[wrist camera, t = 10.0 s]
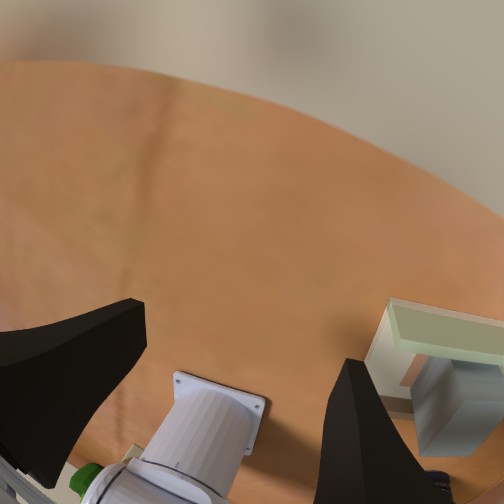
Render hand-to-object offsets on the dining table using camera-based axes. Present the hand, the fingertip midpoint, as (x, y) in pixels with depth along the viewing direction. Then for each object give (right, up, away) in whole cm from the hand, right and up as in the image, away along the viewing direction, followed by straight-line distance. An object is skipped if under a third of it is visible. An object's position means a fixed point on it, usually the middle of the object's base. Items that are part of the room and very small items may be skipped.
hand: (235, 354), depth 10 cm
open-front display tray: (+14, -4, +8) cm, 17 cm away
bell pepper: (-28, -39, +33) cm, 58 cm away
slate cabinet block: (+14, -4, +7) cm, 16 cm away
